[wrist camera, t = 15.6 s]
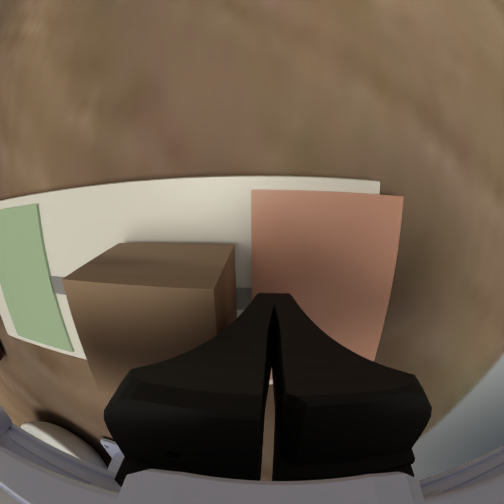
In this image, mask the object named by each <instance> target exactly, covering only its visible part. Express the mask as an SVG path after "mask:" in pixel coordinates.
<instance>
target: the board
mask: <svg viewBox="0 0 504 504" xmlns="http://www.w3.org/2000/svg"><path fill="white" fill-rule="evenodd" d="M402 209H403V196H394V195H382V194H380V182H379V181H375V180H368V179H354V178H338V177H318V176H284V175H232V176H198V177H178V178H162V179H148V180H136V181H125V182H115V183H106V184H97V185H89V186H81V187H74V188H67V189H60V190H53V191H47V192H41V193H35V194H30V195H24V196H19V197H14V198H9V199H4V200H0V315H1V317H2V320H3V323H4V325H5V328H6V330H7V333H8V335H10V336H13V337H16V338H18V339H21V340H24V341H27V342H30V343H32V344H35V345H38V346H41V347H45V348H48V349H51V350H54V351H57V352H61V353H64V354H68V355H71V356H75V357H79V358H83V359H86V356H85V353H84V351H83V348H82V345H81V342H80V340H79V337H78V334H77V331H76V328H75V325H74V321H73V318H72V315H71V311H70V308H69V305H68V301H67V297H66V294H65V290H64V286H63V282H62V279H63V278H64V277H66V276H67V275H69V274H70V273H72V272H73V271H75V270H76V269H78V268H80V267H81V266H83V265H84V264H86V263H87V262H89V261H91V260H92V259H94V258H95V257H97V256H98V255H100V254H102V253H103V252H105V251H107V250H108V249H110V248H111V247H113V246H115V245H116V244H118V243H209V244H235V270H236V301H237V317H238V316H239V315H240V314H241V313H242V312H243V311H244V310H245V309H246V308H247V306H248V305H249V304H250V303H251V301H252V300H253V299H254V297H255V296H256V295H257V294H258V293H290V294H291V295H292V297H293V298H294V300H295V301H296V302H297V304H298V305H299V306H300V308H301V309H302V310H303V311H304V312H305V314H306V315H307V316H308V317H309V318H310V319H311V320H312V321H313V322H314V323H315V324H316V325H317V326H318V327H319V328H320V329H321V330H322V331H323V332H325V333H326V334H327V335H328V336H330V337H331V338H332V339H334V340H335V341H337V342H338V343H339V344H341V345H343V346H344V347H346V348H348V349H349V350H351V351H353V352H355V353H356V354H358V355H360V356H362V357H364V358H366V359H368V360H371V361H373V362H374V359H375V356H376V352H377V349H378V345H379V341H380V338H381V334H382V330H383V326H384V321H385V317H386V313H387V308H388V303H389V299H390V294H391V288H392V283H393V277H394V272H395V266H396V259H397V252H398V245H399V237H400V229H401V220H402ZM269 384H273V378H272V368H271V375H270V381H269Z"/></svg>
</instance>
